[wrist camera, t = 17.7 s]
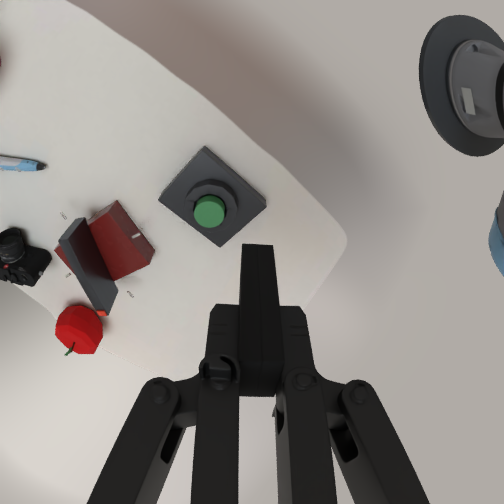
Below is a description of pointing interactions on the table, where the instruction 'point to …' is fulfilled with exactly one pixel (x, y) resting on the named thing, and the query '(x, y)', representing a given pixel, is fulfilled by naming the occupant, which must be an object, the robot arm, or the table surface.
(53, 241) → the table surface
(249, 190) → the control block
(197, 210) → the green push button
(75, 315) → the apple
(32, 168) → the pen
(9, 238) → the camera
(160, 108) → the table surface
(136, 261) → the red rectangular box
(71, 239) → the red-tipped grey slab
